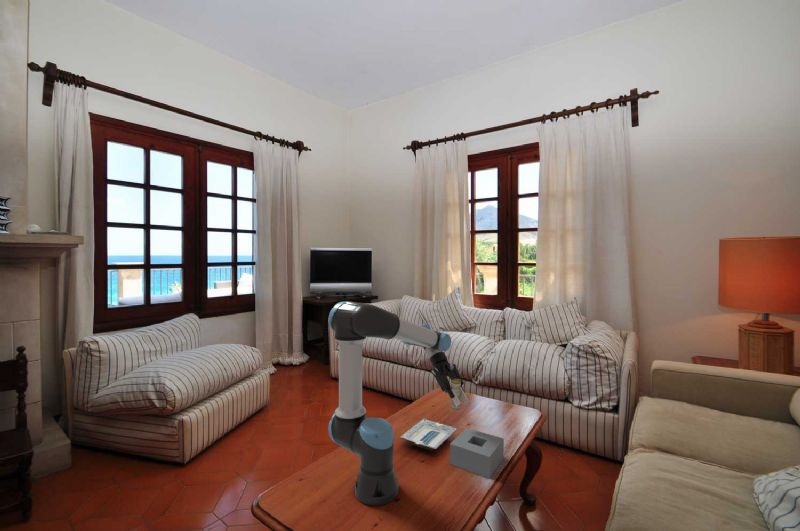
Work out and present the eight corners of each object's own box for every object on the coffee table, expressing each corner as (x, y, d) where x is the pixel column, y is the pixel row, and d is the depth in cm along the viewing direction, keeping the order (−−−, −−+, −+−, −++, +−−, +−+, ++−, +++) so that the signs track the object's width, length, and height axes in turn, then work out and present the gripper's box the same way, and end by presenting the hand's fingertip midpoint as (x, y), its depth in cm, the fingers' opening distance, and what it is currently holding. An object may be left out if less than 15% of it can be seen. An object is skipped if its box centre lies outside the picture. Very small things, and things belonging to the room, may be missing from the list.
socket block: (489, 478, 128) (489, 456, 128) (450, 464, 137) (450, 443, 137) (503, 458, 141) (503, 438, 141) (466, 446, 150) (466, 427, 150)
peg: (458, 410, 147) (458, 382, 147) (449, 408, 149) (449, 380, 149) (461, 407, 150) (462, 379, 150) (453, 405, 153) (453, 377, 152)
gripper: (445, 356, 167) (471, 402, 154) (418, 362, 157) (443, 412, 144) (453, 348, 162) (481, 394, 149) (426, 353, 152) (452, 404, 139)
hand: (462, 403), depth 147 cm, fingers closed on peg, 4 cm apart
